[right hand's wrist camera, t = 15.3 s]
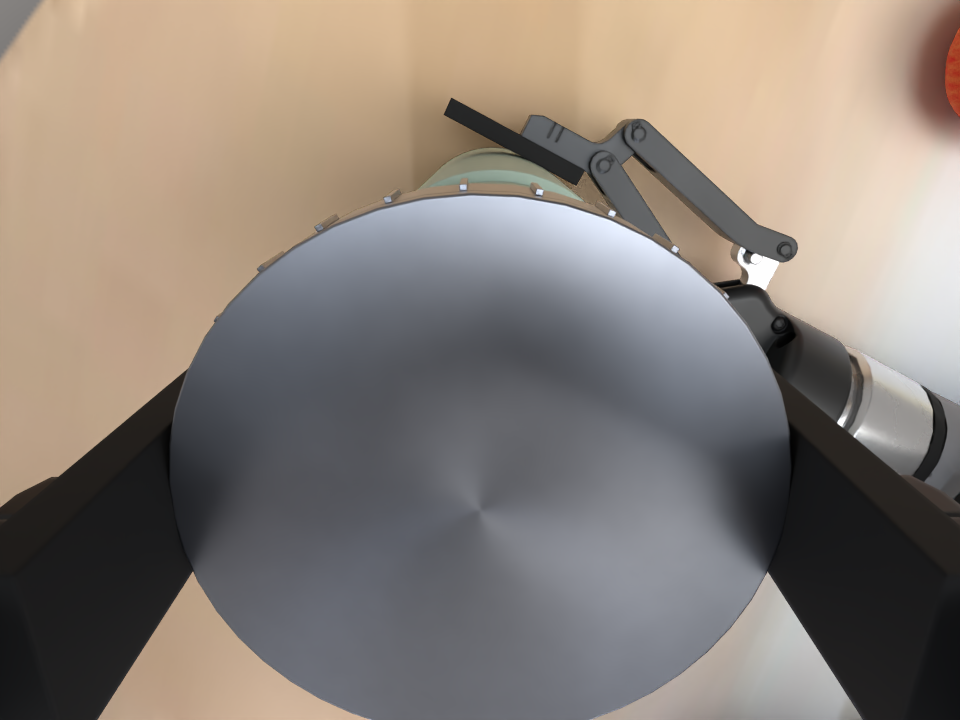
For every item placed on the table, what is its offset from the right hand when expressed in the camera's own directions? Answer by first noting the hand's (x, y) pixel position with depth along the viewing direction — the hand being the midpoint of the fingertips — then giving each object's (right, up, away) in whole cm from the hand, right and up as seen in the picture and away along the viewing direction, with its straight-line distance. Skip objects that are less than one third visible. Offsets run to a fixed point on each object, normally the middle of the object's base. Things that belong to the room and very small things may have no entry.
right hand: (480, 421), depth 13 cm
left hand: (-4, +9, +17) cm, 19 cm away
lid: (0, -1, -3) cm, 3 cm away
